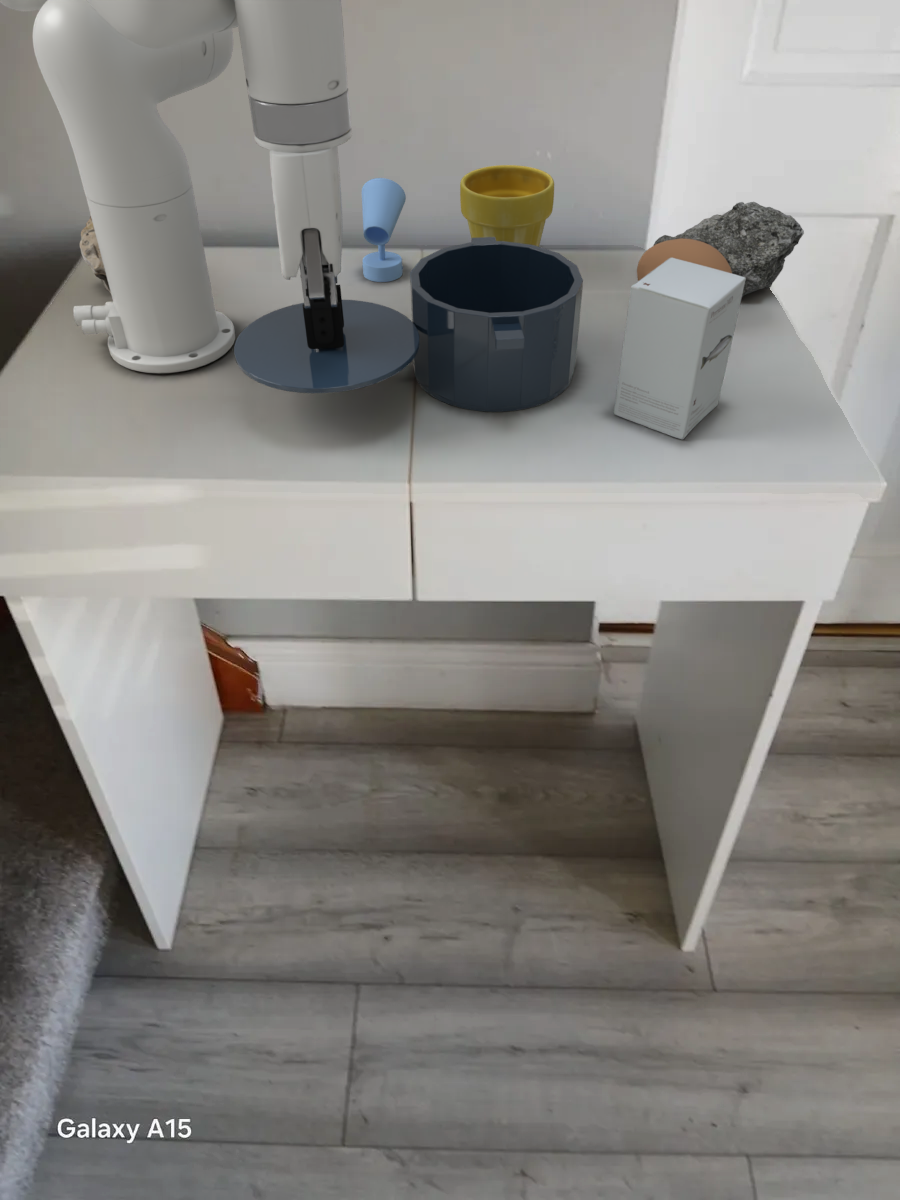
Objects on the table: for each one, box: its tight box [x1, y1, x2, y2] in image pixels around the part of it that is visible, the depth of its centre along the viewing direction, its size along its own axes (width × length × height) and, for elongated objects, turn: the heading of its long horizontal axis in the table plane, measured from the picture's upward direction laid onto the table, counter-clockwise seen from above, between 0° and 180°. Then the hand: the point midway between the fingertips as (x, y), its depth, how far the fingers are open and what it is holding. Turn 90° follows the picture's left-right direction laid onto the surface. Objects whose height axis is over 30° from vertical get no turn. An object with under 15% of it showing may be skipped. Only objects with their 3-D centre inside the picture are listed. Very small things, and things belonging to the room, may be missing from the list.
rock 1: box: [79, 215, 111, 294], centre depth 107 cm, size 9×7×10 cm
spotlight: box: [361, 177, 407, 283], centre depth 107 cm, size 5×10×7 cm
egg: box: [636, 238, 732, 282], centre depth 101 cm, size 8×8×11 cm
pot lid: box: [233, 279, 420, 394], centre depth 85 cm, size 17×17×7 cm
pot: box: [409, 237, 584, 413], centre depth 91 cm, size 16×21×10 cm
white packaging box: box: [612, 258, 746, 440], centre depth 84 cm, size 7×7×13 cm
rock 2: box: [652, 201, 805, 297], centre depth 107 cm, size 13×13×10 cm
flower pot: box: [459, 164, 555, 247], centre depth 108 cm, size 10×10×10 cm
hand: (326, 336), depth 86 cm, fingers closed on pot lid, 2 cm apart
